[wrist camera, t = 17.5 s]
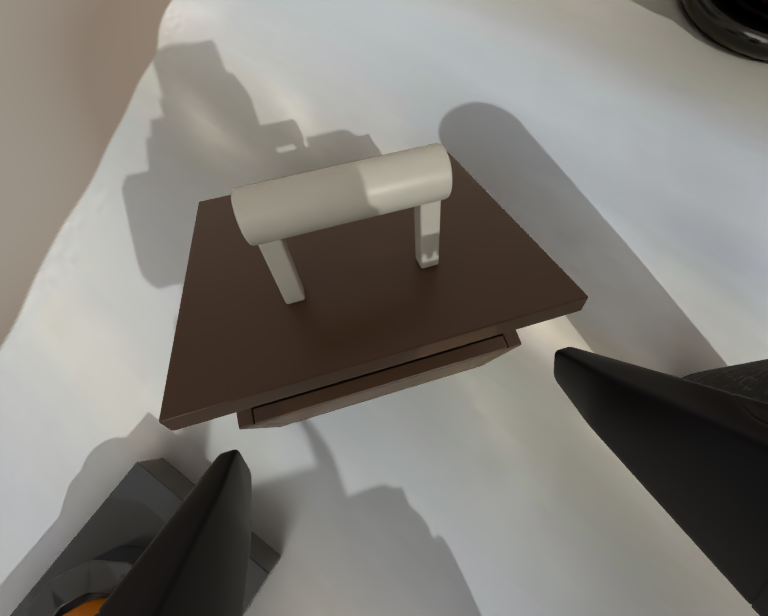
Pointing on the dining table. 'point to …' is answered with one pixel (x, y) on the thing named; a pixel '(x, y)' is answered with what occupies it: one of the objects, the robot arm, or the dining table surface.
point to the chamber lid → (348, 280)
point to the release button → (87, 608)
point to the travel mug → (737, 379)
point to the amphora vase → (733, 24)
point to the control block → (126, 543)
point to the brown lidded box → (377, 383)
